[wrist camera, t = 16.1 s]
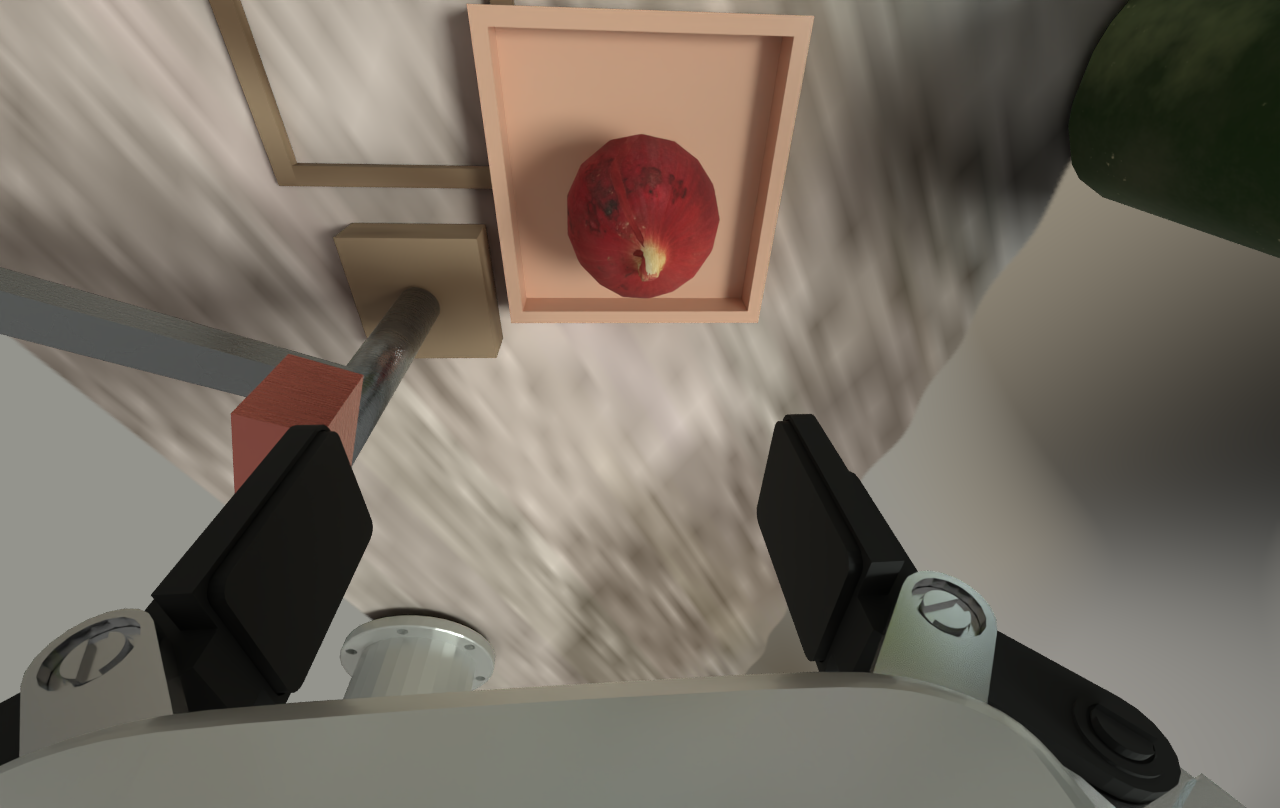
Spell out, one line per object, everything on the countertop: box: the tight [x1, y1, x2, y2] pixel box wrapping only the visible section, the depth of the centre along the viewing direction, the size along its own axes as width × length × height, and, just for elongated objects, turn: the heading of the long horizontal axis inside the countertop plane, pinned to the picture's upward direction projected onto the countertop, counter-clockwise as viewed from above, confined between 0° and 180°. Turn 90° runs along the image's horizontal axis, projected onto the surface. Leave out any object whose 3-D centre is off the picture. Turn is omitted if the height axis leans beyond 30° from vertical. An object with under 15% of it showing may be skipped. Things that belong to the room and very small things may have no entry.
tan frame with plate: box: [209, 0, 514, 358], centre depth 21 cm, size 18×11×2 cm, turn 178°
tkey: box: [0, 267, 440, 493], centre depth 17 cm, size 13×7×13 cm, turn 67°
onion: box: [567, 134, 720, 299], centre depth 19 cm, size 6×6×8 cm
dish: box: [467, 4, 814, 323], centre depth 22 cm, size 12×12×2 cm
